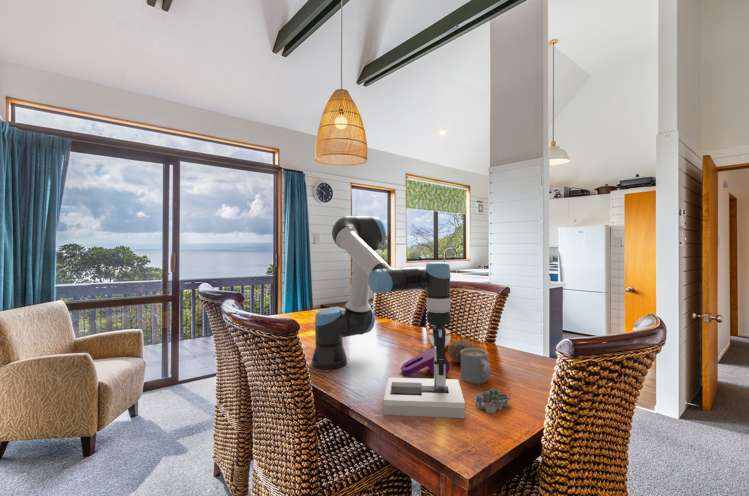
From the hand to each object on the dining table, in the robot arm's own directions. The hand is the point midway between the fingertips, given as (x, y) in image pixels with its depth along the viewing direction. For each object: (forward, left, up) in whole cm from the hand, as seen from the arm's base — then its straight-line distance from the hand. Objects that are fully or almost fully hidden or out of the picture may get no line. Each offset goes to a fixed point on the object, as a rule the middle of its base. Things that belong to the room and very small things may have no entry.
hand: (439, 376), depth 114 cm
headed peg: (0, 0, -9) cm, 9 cm away
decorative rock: (+12, +41, -9) cm, 44 cm away
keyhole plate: (-5, 0, -9) cm, 10 cm away
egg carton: (+16, 0, -9) cm, 19 cm away
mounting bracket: (-5, +27, -9) cm, 29 cm away
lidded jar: (+4, +63, -9) cm, 64 cm away
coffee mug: (+15, +21, -9) cm, 27 cm away
